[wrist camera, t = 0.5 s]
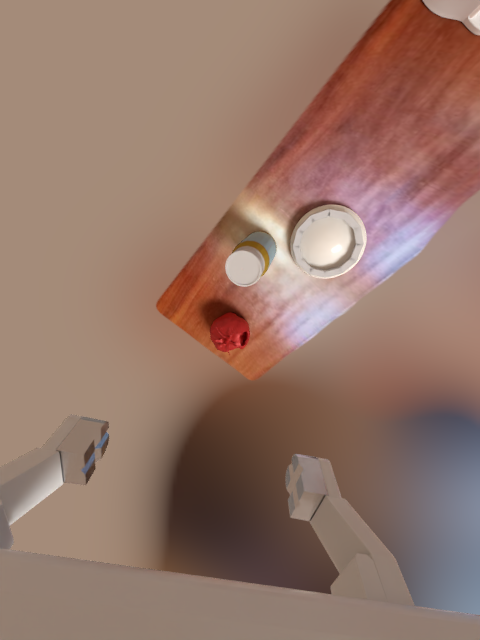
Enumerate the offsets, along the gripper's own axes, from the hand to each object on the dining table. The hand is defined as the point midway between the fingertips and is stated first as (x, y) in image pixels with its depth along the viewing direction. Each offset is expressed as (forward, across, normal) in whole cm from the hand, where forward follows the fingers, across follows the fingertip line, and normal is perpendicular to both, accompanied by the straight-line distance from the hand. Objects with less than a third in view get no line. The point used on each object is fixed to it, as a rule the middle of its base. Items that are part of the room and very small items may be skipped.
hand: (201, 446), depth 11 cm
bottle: (+48, -4, -2) cm, 48 cm away
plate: (+45, -17, -6) cm, 48 cm away
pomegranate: (+51, -3, +19) cm, 55 cm away
